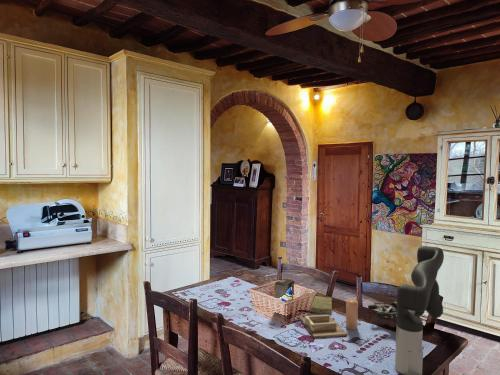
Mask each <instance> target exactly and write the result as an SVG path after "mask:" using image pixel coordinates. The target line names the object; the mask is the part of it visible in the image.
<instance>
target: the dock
mask: <svg viewBox="0 0 500 375" xmlns="http://www.w3.org/2000/svg"><path fill="white" fill-rule="evenodd" d="M299 320H300V322H302V324H303V326H304V327H305V328H306V330H307V331H308V333H309V334H310V335H311V337H312V338H313V339H320V338H321V339H322V338H323V339H324V338H333V337H334V338H337V337H347V336H348V333H347V332H346V331H345V329H344V328H343V327H341V326H340V324H338V323H337V322H336V320H335V319H333V317H332V316H331V315H330V314H318V315H316V314H315V315H305V316H304V317H300V318H299Z"/></svg>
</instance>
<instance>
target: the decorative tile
mask: <svg viewBox="0 0 500 375" xmlns="http://www.w3.org/2000/svg"><path fill="white" fill-rule="evenodd" d="M314 296H315V298H314V301H313V304H312V309H311V313H317V314H324V315H332V314H333V301H332V300H333V299H332V297H325V296H318V295H314Z"/></svg>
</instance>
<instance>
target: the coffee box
mask: <svg viewBox="0 0 500 375" xmlns="http://www.w3.org/2000/svg"><path fill="white" fill-rule="evenodd" d="M290 287H292V289H293V295H294V296H295V280H291V279H289V278H283V279H280V280H279V281H275V291H274V292H275V296H274V298H280V297H282V296H283V295H285V293H286V291H287V290H288V289H289V288H290Z"/></svg>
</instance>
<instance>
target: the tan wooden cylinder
mask: <svg viewBox="0 0 500 375" xmlns="http://www.w3.org/2000/svg"><path fill="white" fill-rule="evenodd" d="M345 302H346V303H345V304H346V305H345V308H346V310H345V328H346V329H347V330H350V331H351V330H352V331H355V330H358V317H359V315H358V313H359V311H358V310H359V301H358V300H356V299H354V298H351V299H349V298H348V299H347V300H345Z"/></svg>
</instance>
